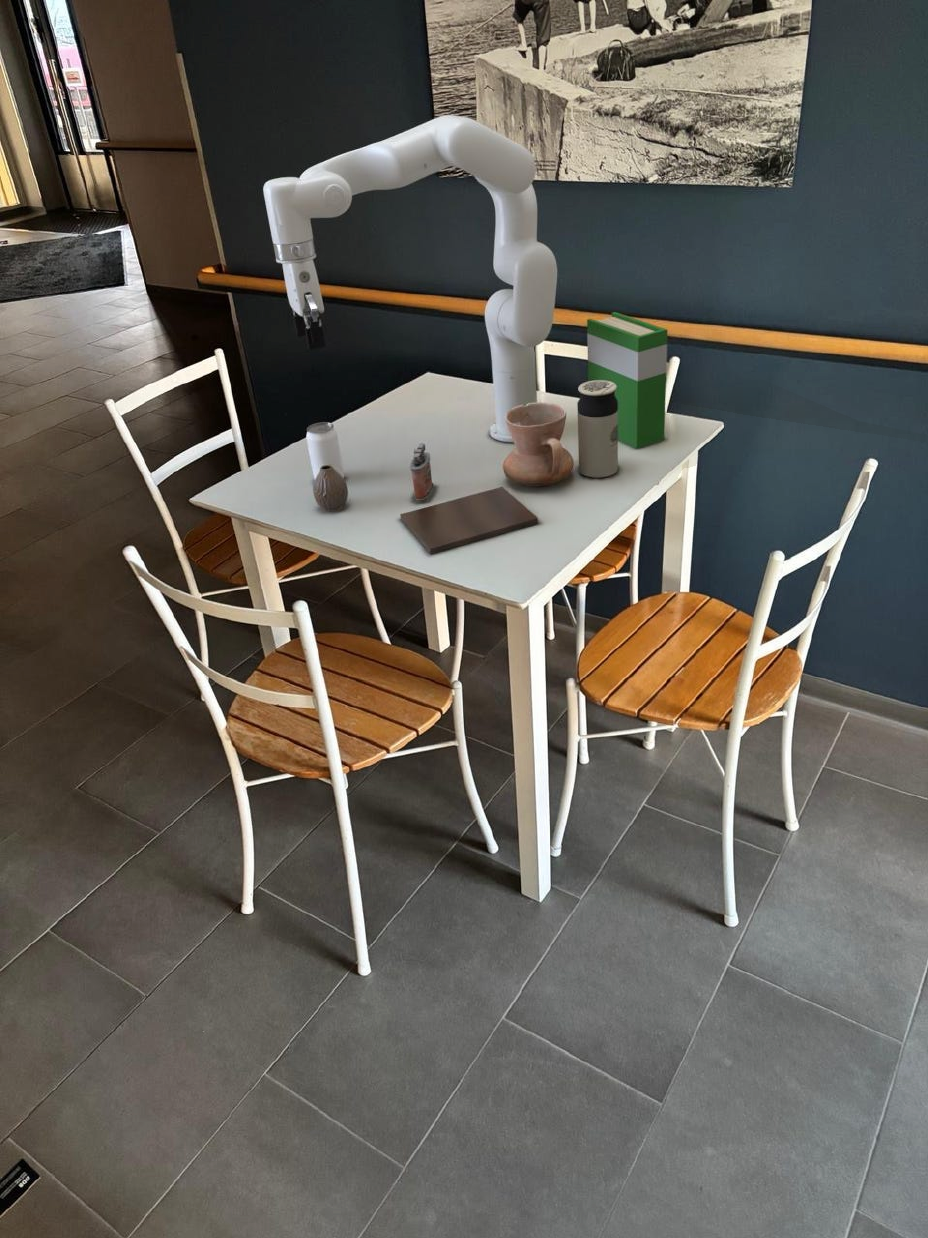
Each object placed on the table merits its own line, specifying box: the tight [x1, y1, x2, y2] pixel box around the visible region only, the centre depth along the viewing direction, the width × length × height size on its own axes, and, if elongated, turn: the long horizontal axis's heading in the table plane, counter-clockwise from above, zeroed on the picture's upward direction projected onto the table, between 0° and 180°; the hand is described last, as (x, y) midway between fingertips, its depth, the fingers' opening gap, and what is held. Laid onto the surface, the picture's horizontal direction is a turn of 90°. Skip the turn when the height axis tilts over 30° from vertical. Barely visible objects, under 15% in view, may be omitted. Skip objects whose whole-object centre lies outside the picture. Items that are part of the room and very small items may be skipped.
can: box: [305, 421, 345, 481], centre depth 199 cm, size 6×6×12 cm
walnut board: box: [399, 486, 539, 555], centre depth 181 cm, size 22×16×1 cm
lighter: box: [409, 442, 435, 504], centre depth 190 cm, size 8×3×10 cm, turn 168°
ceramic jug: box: [502, 401, 575, 487], centre depth 190 cm, size 18×14×14 cm
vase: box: [312, 465, 349, 512], centre depth 189 cm, size 7×7×9 cm
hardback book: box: [586, 311, 669, 449], centre depth 203 cm, size 18×7×24 cm, turn 29°
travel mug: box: [576, 380, 619, 479], centre depth 190 cm, size 8×8×18 cm
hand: (310, 341), depth 185 cm, fingers open, 9 cm apart
